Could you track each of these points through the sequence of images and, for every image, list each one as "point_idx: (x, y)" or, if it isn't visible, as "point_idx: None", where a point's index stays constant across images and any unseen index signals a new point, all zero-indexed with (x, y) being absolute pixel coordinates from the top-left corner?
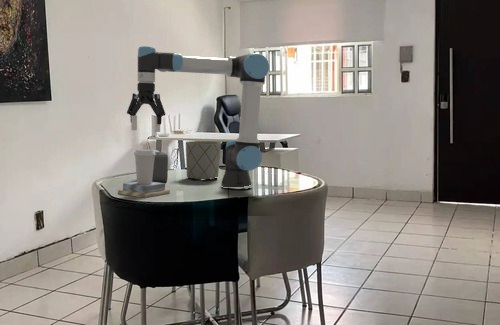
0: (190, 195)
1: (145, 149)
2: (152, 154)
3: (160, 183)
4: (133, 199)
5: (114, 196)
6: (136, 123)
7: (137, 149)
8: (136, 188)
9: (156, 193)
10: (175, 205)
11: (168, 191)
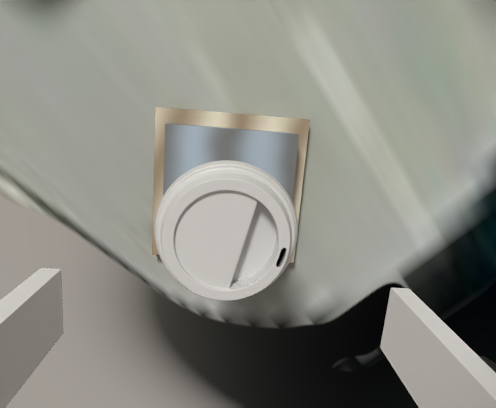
0: (399, 105)
1: (195, 199)
2: (296, 242)
3: (282, 147)
4: (279, 307)
5: (189, 303)
6: (16, 318)
7: (170, 257)
8: None
9: (299, 202)
10: (450, 308)
11: (308, 128)
